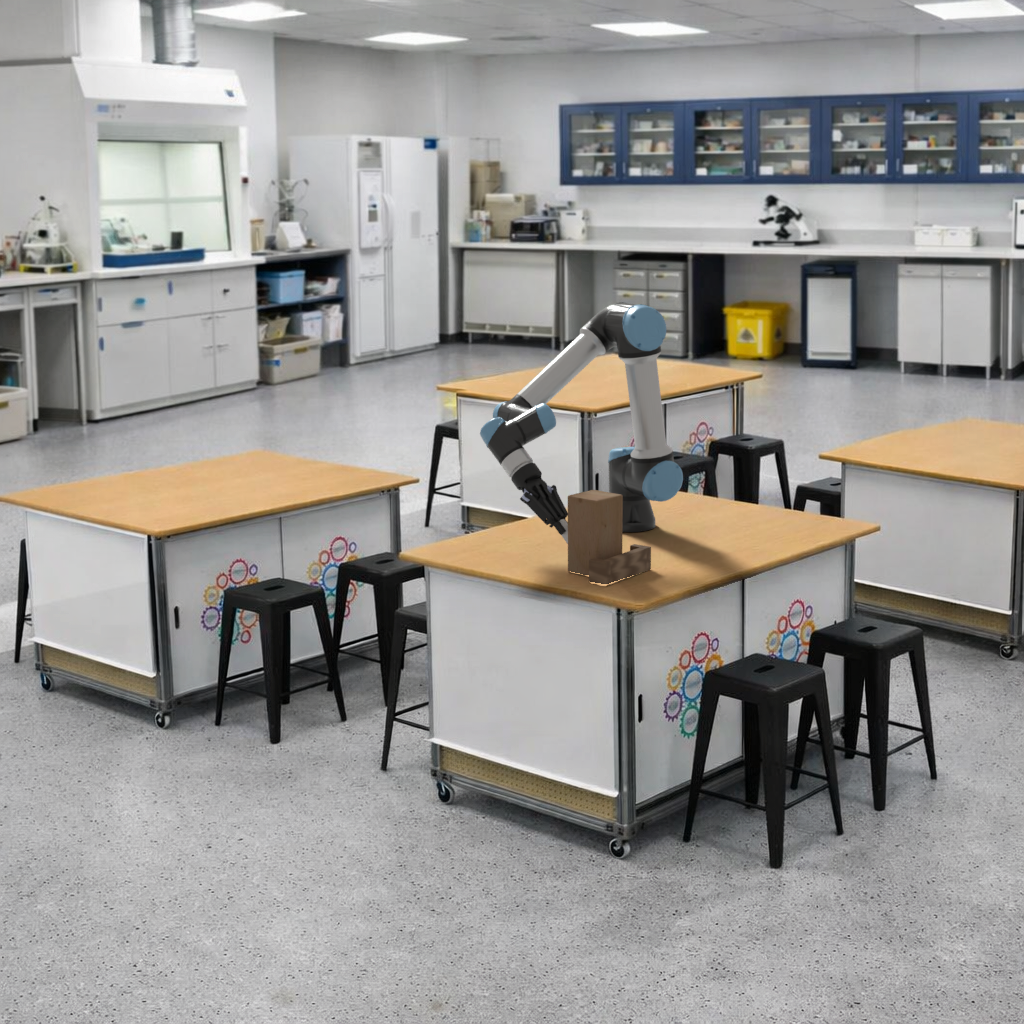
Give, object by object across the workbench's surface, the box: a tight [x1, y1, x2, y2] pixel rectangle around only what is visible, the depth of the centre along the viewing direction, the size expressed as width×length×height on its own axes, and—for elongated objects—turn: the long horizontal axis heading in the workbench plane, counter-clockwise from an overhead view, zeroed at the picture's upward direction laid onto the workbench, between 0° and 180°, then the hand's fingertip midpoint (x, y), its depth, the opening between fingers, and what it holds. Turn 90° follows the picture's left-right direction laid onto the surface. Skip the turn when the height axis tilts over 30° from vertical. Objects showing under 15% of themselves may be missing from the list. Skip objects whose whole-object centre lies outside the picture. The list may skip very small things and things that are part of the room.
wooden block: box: [567, 489, 623, 575], centre depth 362 cm, size 10×10×20 cm
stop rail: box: [588, 543, 652, 584], centre depth 359 cm, size 20×5×6 cm, turn 142°
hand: (573, 542), depth 366 cm, fingers closed
